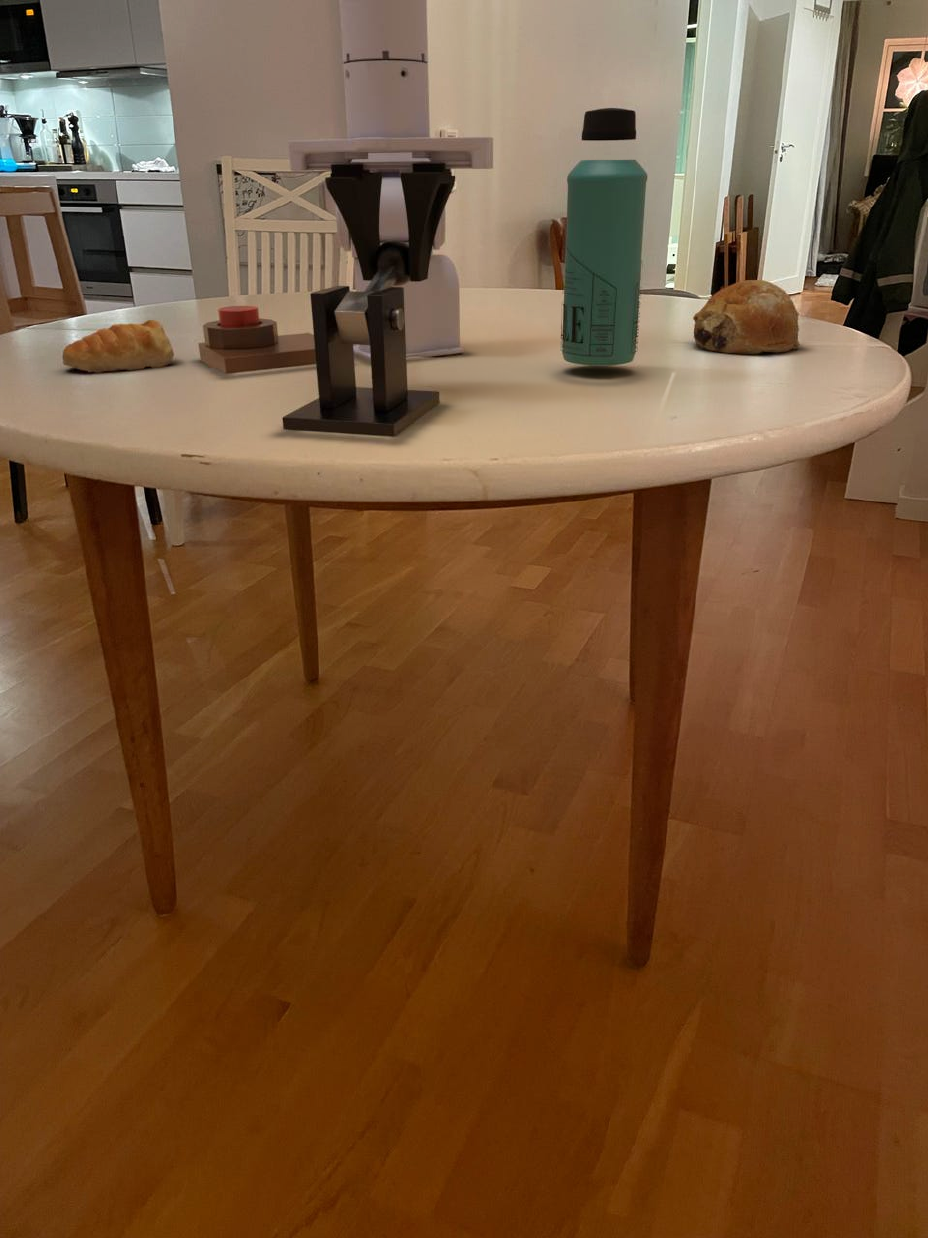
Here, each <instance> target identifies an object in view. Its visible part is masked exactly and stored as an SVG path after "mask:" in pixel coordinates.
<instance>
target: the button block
mask: <svg viewBox="0 0 928 1238" xmlns="http://www.w3.org/2000/svg"><path fill="white" fill-rule="evenodd" d="M259 321H260V324H259V325H254V326H244V327H224V326H220V321H219V320H212V321H208V322H205V324H203V325H202V329H203V337H204V342H198V351H199V357H200V362H201V363H203V364H204V365H206V366H208V367H210V368H211V369H212V368H216V369H218V370H220V371H221V372H223V373H224V374H227V375H228V374H236V373H244V372H255V371H264V370H273V369H282V368H291V367H303V366H309V365H311V366H312V365H316V355H315V343H314V333H310V332H303V333H292V334H291V333H290V334H281V335H279V332H278V322H277V321H275V320H273V319H270V318H260V317H259Z"/></svg>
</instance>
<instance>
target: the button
mask: <svg viewBox="0 0 928 1238" xmlns="http://www.w3.org/2000/svg"><path fill="white" fill-rule="evenodd" d="M217 312H218V319H219V321H220V326H224V327H244V326H254V325H259V324H260V321H259V318H260V314H259V313H260V311H259V308H258V306H254V305H229V306H223V307H219V308H218V309H217Z"/></svg>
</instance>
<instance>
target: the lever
mask: <svg viewBox="0 0 928 1238" xmlns="http://www.w3.org/2000/svg"><path fill="white" fill-rule="evenodd" d="M374 269H375V272H376V275H375V276H374V278H373V279H372V281H371V282H370V284H369V285H368V287H367V288H366V290H365V291H364V292H356V291H352V290H350V291H348V292H347V294H346V295H345V297H344V298H343V300H342V301H341V302H340V304H339V305H338V307H337V308H336V310H335V311H334V313H335V318H336V322H337V326H338V331H339V335H340V339H341V344H356V345H370V336H369V318H368V300H367V295H368V294H371V293H374V292H377V291H380V290H383V289H386V288H390V287H392V286H401V285H404V284H406V283H408V282H409V281H410V275H409V245H408V244H407V243H405V242H403V241H401V240H389V241H386V242H384V243H383V244H381V245H380V246H379V248H378V249H377V251H376V253H375V256H374Z"/></svg>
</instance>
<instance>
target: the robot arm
mask: <svg viewBox="0 0 928 1238" xmlns="http://www.w3.org/2000/svg"><path fill="white" fill-rule="evenodd" d="M338 3H339V18H340V19H339V20H340V33H341V35H340V36H341V50H342V51H341V52H342V64H343V65H342V66H343V80H344V81H343V82H344V83H343V84H344V98H345V114H346V130H347V138H334V139H332V138H331V139H306V140H305V139H304V140H288V142H287V143H288V155H289V165H290V171H291V172H309V171H310V172H312V171H330V174H329V175H330V176H328V177H326V176H325V177H324V182H325V187H326V190H327V191H328V193H329V195H330V196H331V198H332V200H333V201H334V205H335V208H334V209H335V222H336V233H337V242H338V245H339V246H340V247H341V248H342V249H343V251H344V252H351V258H353V271H354V283H355V286H354V287H355V292H364V291H365V290H366V288H367V287H368V285H369V284H370V282H371V281H372V279H373V278H374V276H375V275H376V272H375V269H374V256H375V253H376V251H377V249H378V248H379V246H380V245H381V244H383V243H384V242H386V241H389V240H401V241H403V242H405V243H407V244H408V245H409V275H410V281H409V282H408V283H406V284H404V285H401V286H392V287H403V288H404V311H405V337H406V358H413V357H416V358H431V357H437V356H447V355H448V356H449V355H455V354H463V353H464V352H465V348H464V347H461V311H460V310H461V307H460V305H461V303H460V301H461V300H460V281H459V280H460V279H459V274H458V271H457V267H456V265H455V263H454V262H453V260H452V259H451V257H449V256H447V255H445V254H434V251H440V249H441V247H442V246H443V245H444V244H445V241H446V205H447V203H448V200H449V198H450V195H451V194H452V191H453V190H454V187H455V182H456V175H453V172H452V170H457V169H458V170H459V169H460V170H465V169H468V170H469V169H470V170H471V169H472V170H490V169H491V170H492V169H494V137H490V136H452V137H451V136H449V137H448V136H445V137H444V136H442V137H441V136H438V137H435V136H434V137H431V126H430V87H429V86H430V85H429V46H428V45H429V43H428V42H429V41H428V3H427V0H338ZM353 349H354V355H360V356H363V357H365V358H368V359H370V360H371V353H370V345H356V344H353Z"/></svg>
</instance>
